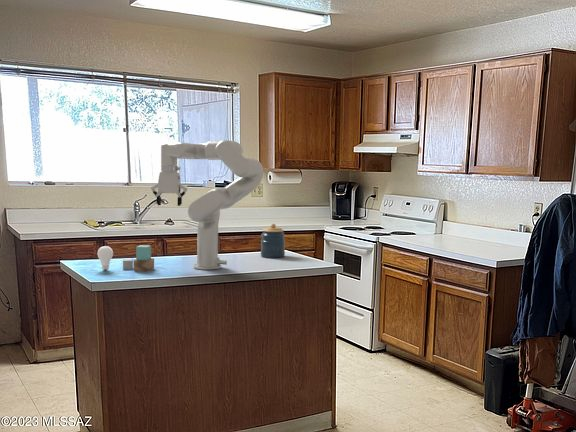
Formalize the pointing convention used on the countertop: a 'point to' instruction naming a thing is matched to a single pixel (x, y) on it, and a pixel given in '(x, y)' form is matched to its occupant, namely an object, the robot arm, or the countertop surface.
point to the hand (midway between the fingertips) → (169, 205)
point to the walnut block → (144, 265)
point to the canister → (273, 242)
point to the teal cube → (143, 252)
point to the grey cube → (128, 264)
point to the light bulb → (105, 256)
